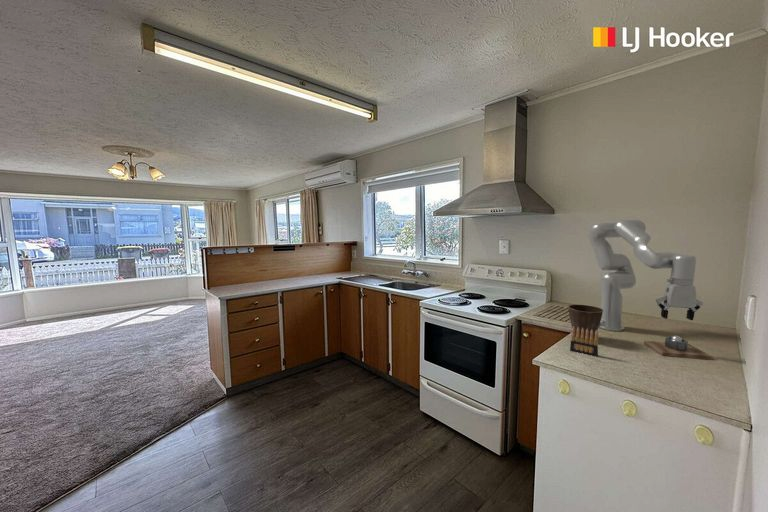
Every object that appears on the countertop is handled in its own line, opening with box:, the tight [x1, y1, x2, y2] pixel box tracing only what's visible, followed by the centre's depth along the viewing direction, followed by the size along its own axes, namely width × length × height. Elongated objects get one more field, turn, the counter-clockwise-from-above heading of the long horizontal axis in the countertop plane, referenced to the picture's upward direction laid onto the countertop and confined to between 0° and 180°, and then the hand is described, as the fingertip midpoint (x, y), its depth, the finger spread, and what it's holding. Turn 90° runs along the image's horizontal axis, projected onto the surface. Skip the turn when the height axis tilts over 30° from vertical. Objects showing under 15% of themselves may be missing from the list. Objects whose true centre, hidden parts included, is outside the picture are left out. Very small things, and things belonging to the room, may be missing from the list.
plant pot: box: [568, 304, 603, 340], centre depth 157 cm, size 15×15×16 cm
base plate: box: [643, 340, 713, 360], centre depth 141 cm, size 18×14×2 cm
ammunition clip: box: [569, 326, 599, 358], centre depth 139 cm, size 11×2×12 cm, turn 50°
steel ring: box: [664, 336, 689, 351], centre depth 140 cm, size 7×7×4 cm
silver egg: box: [671, 335, 683, 342], centre depth 140 cm, size 4×4×6 cm
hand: (676, 318), depth 140 cm, fingers open, 9 cm apart
